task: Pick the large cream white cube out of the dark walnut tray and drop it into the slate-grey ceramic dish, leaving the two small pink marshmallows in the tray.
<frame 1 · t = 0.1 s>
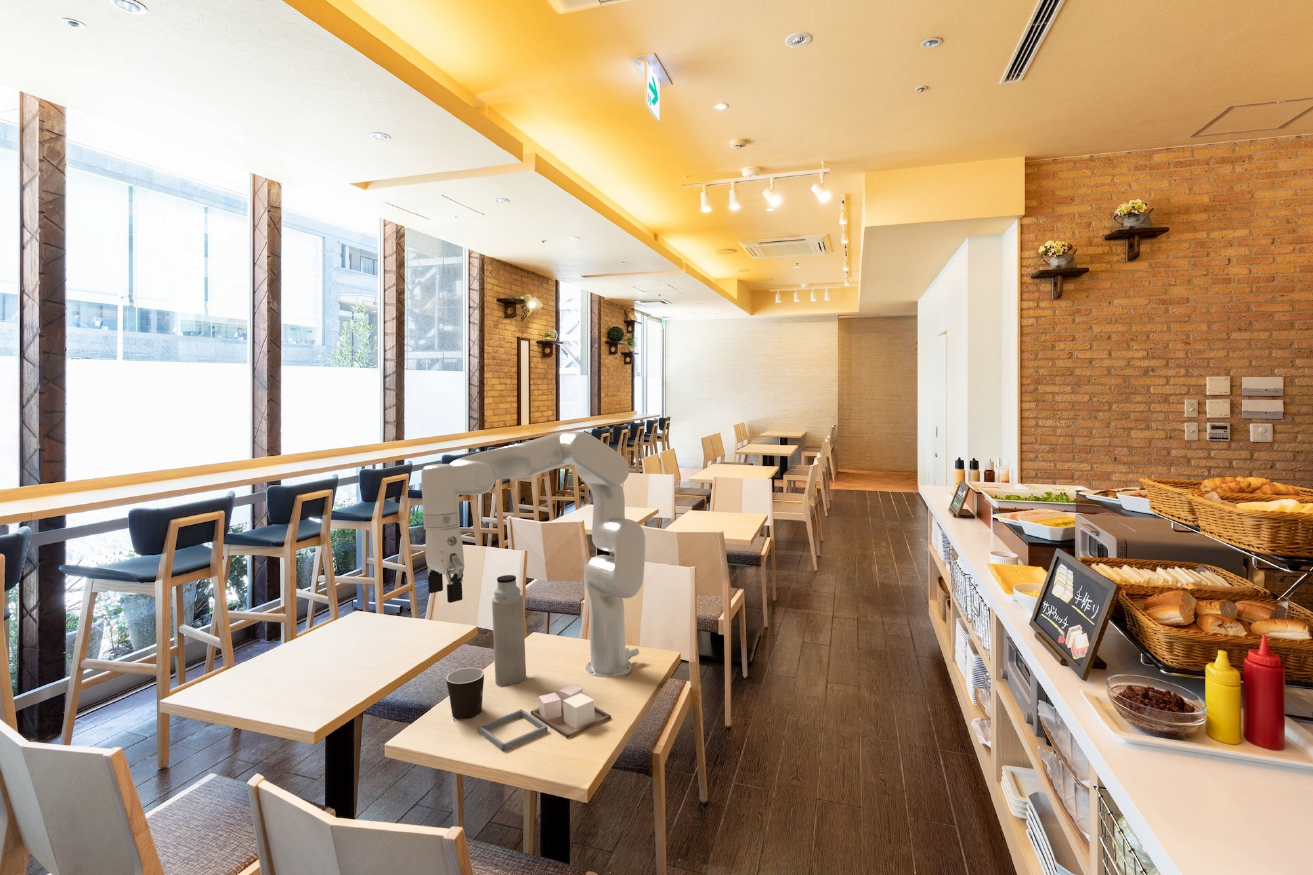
hand: (445, 596, 142), 31 cm above the table, fingers open, 9 cm apart
coffee mug: (470, 714, 152), on the table
cream white cube: (579, 721, 145), point 1 cm above the table, touching walnut tray
thermos bottle: (511, 680, 169), on the table
marshmallow small 1: (571, 705, 152), point 1 cm above the table, touching walnut tray
slate dish: (512, 735, 141), on the table
marshmallow small 2: (550, 714, 148), point 1 cm above the table, touching walnut tray
walnut tray: (570, 720, 147), on the table
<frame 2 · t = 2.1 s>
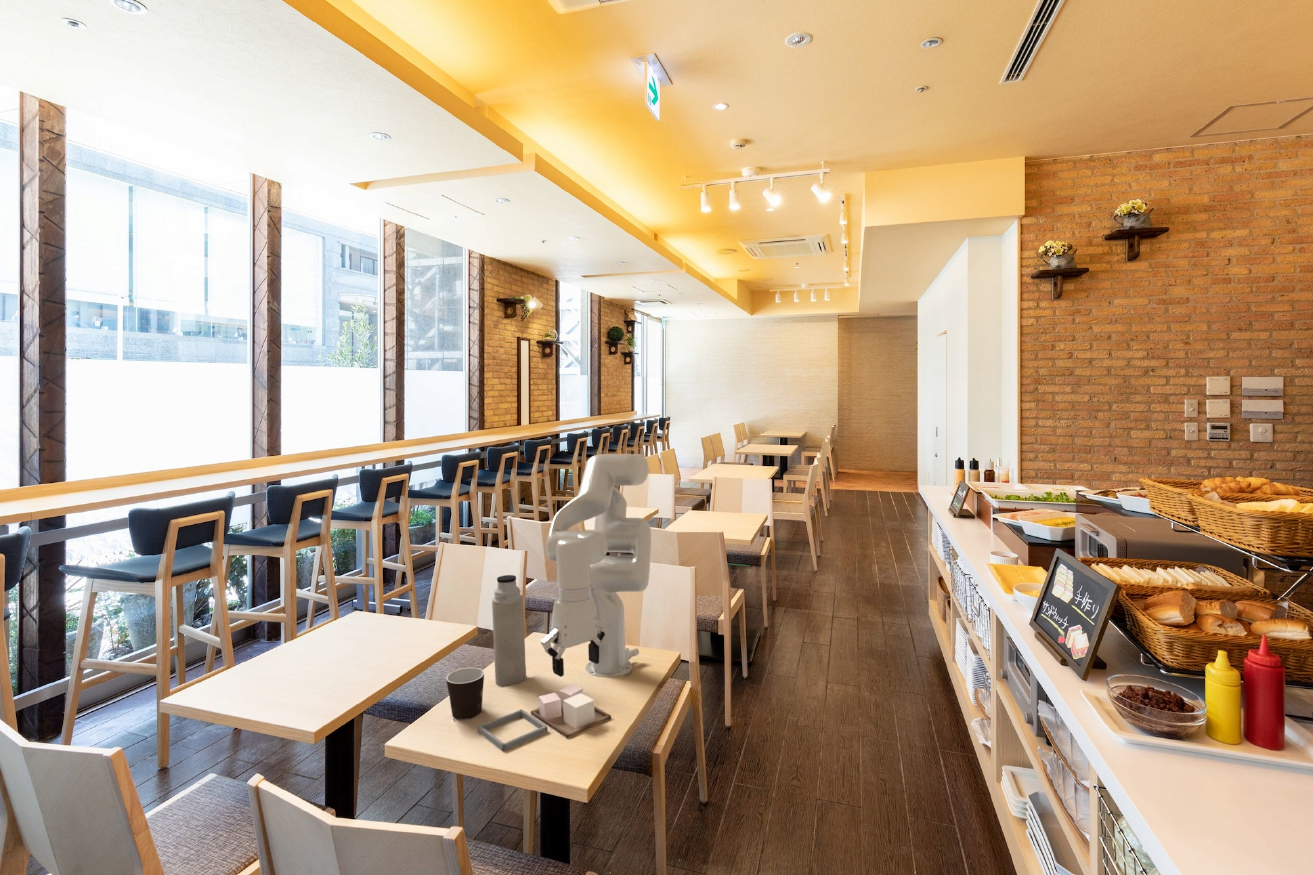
hand: (576, 668, 143), 14 cm above the table, fingers open, 9 cm apart
nothing on the table moved.
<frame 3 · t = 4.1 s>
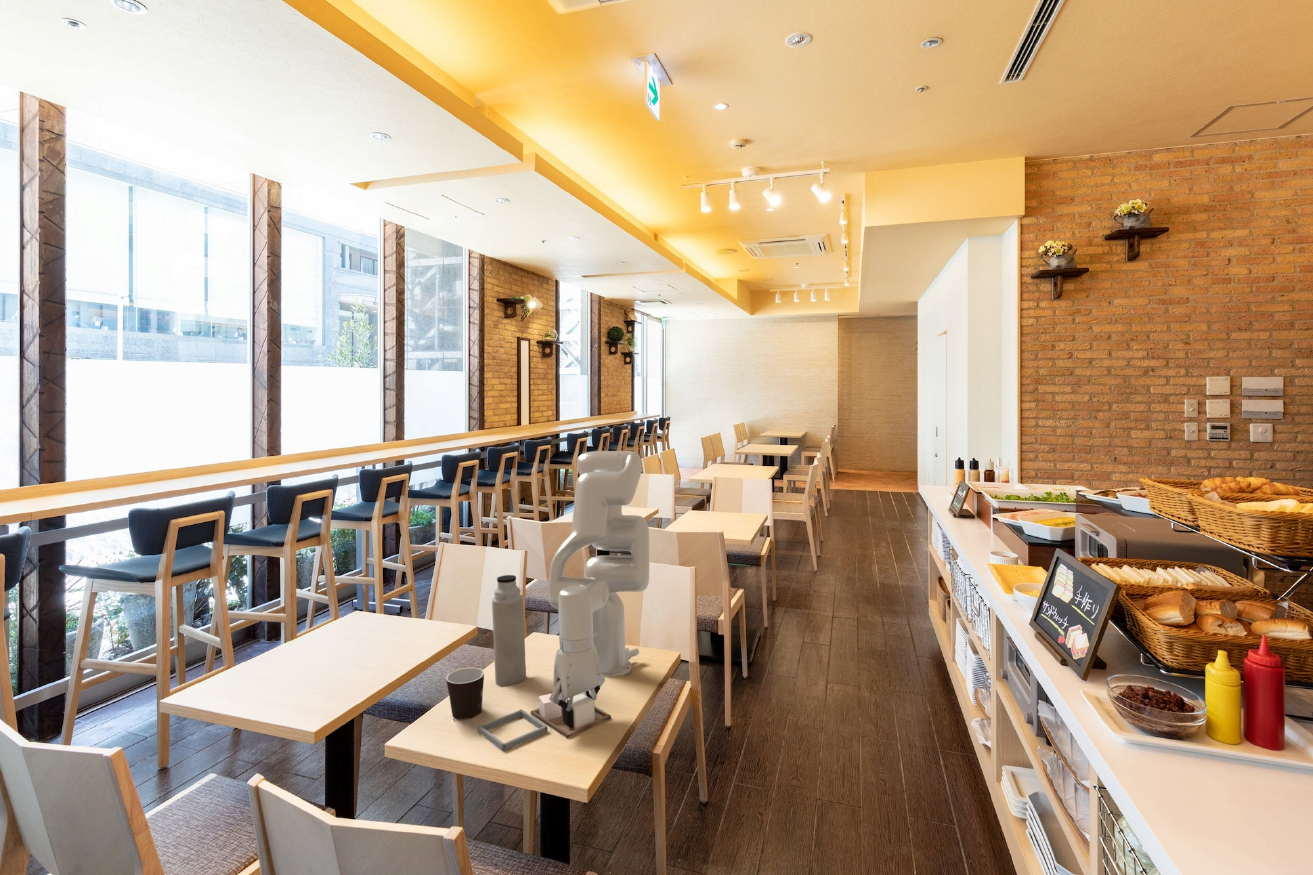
hand: (579, 719, 145), 1 cm above the table, fingers closed on cream white cube, 4 cm apart
cream white cube: (579, 721, 145), point 1 cm above the table, touching gripper, walnut tray
everything else where it was.
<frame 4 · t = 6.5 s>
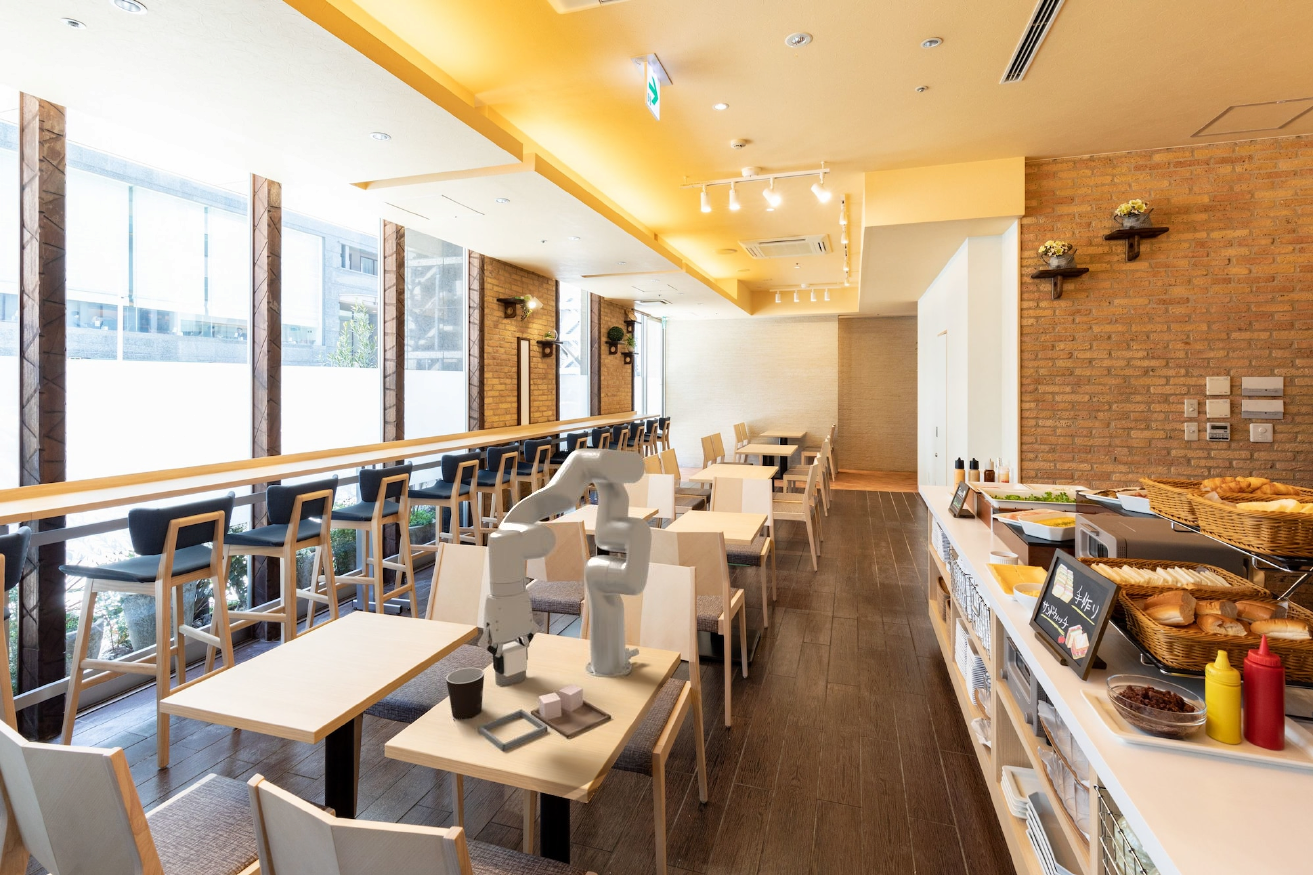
hand: (510, 667, 140), 16 cm above the table, fingers closed on cream white cube, 4 cm apart
cream white cube: (511, 669, 140), point 15 cm above the table, touching gripper
everything else where it was.
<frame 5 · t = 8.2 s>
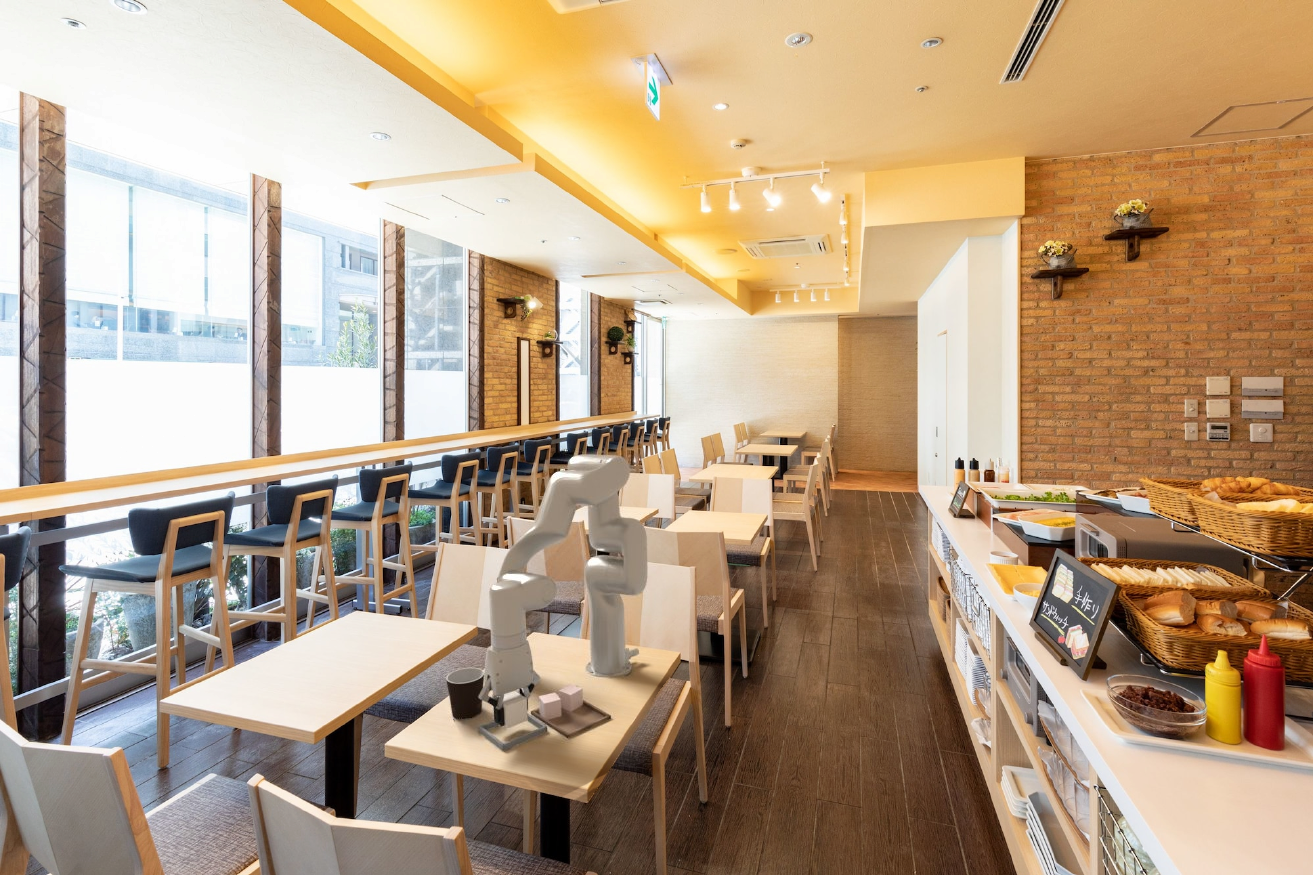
hand: (511, 718, 141), 4 cm above the table, fingers closed on cream white cube, 4 cm apart
cream white cube: (511, 720, 141), point 4 cm above the table, touching gripper
everything else where it was.
when the fingers open (3 cm above the table, at t = 9.2 s): cream white cube drops 2 cm, resting on slate dish.
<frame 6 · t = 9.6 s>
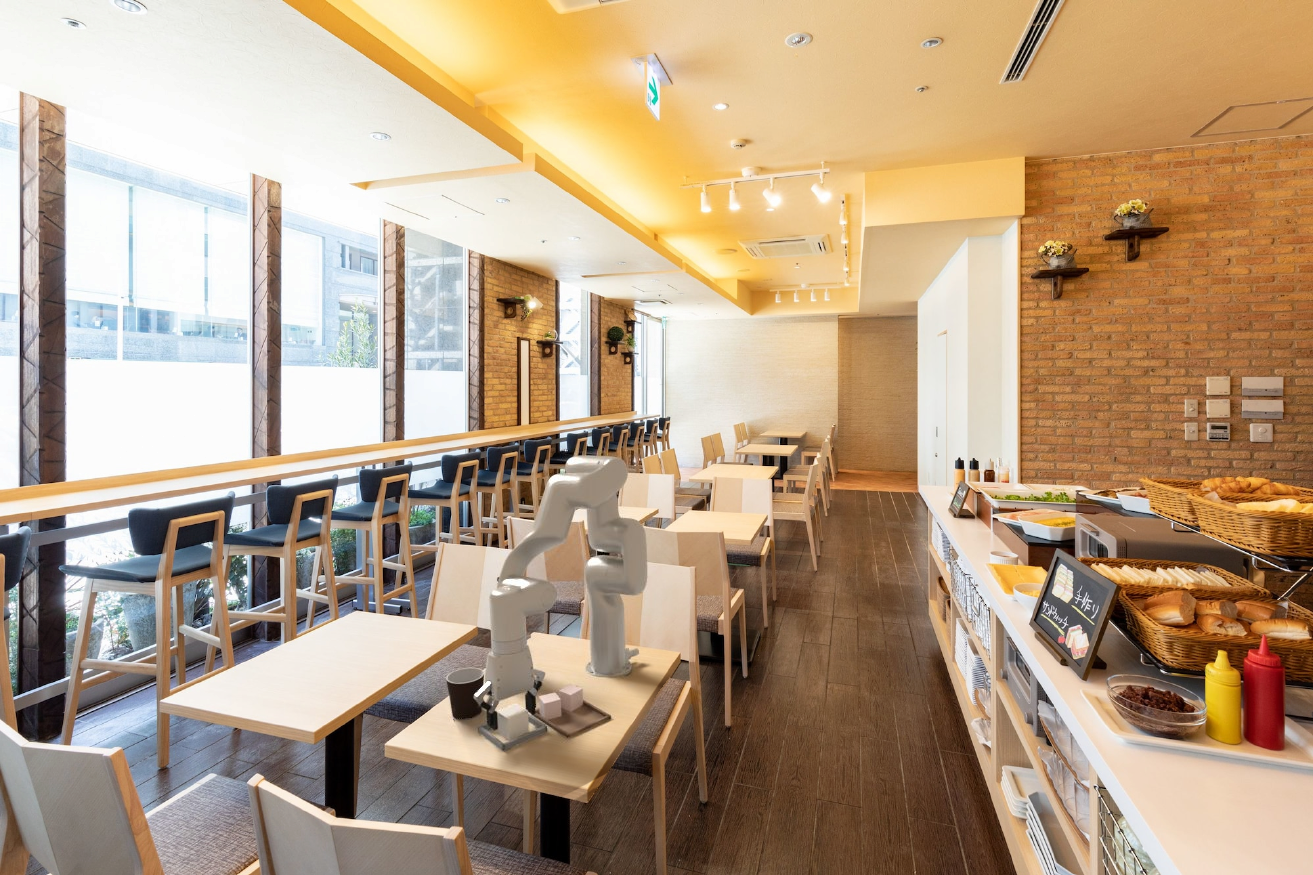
hand: (512, 719, 141), 4 cm above the table, fingers open, 9 cm apart
cream white cube: (513, 732, 141), point 1 cm above the table, touching slate dish
everything else where it was.
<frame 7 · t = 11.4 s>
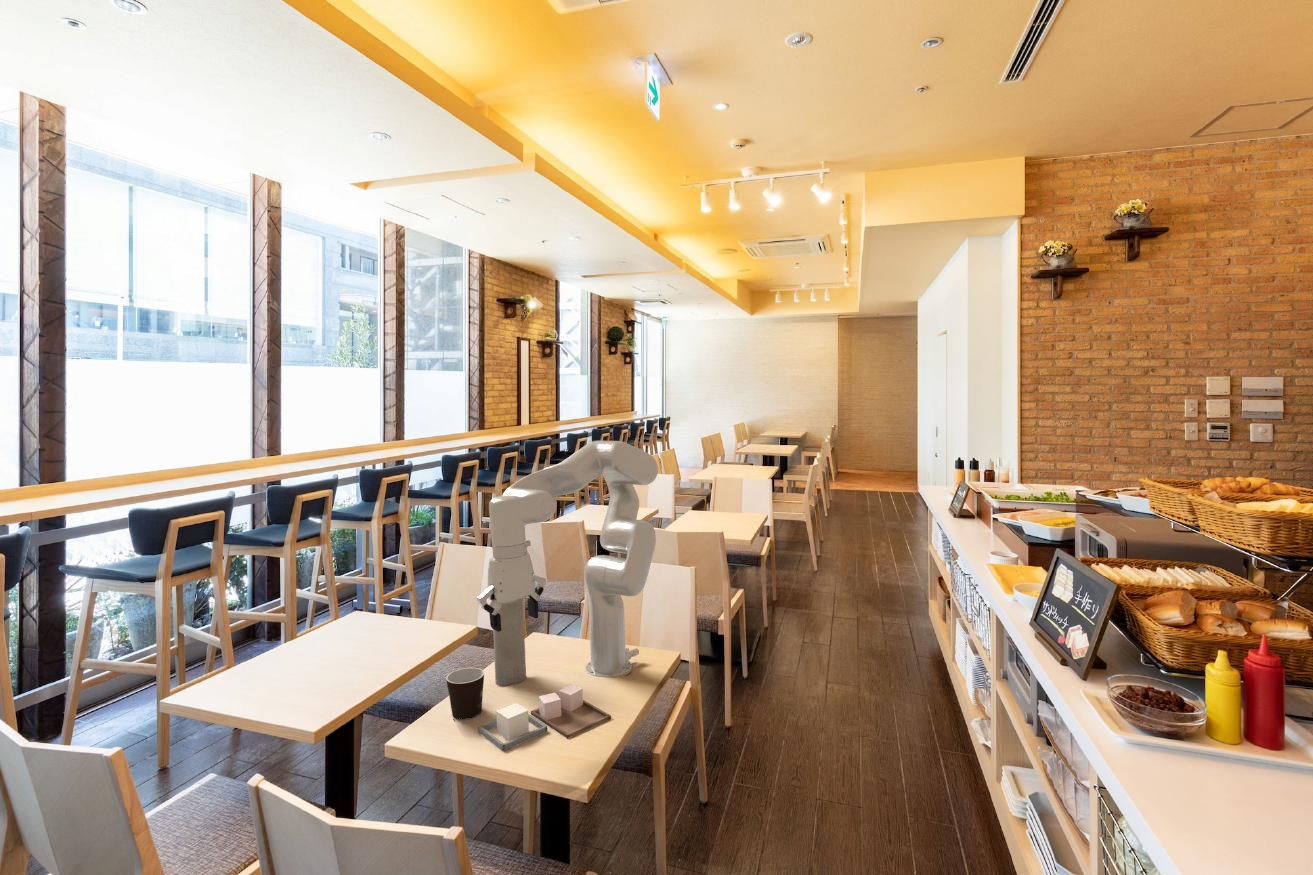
hand: (515, 623, 146), 23 cm above the table, fingers open, 9 cm apart
nothing on the table moved.
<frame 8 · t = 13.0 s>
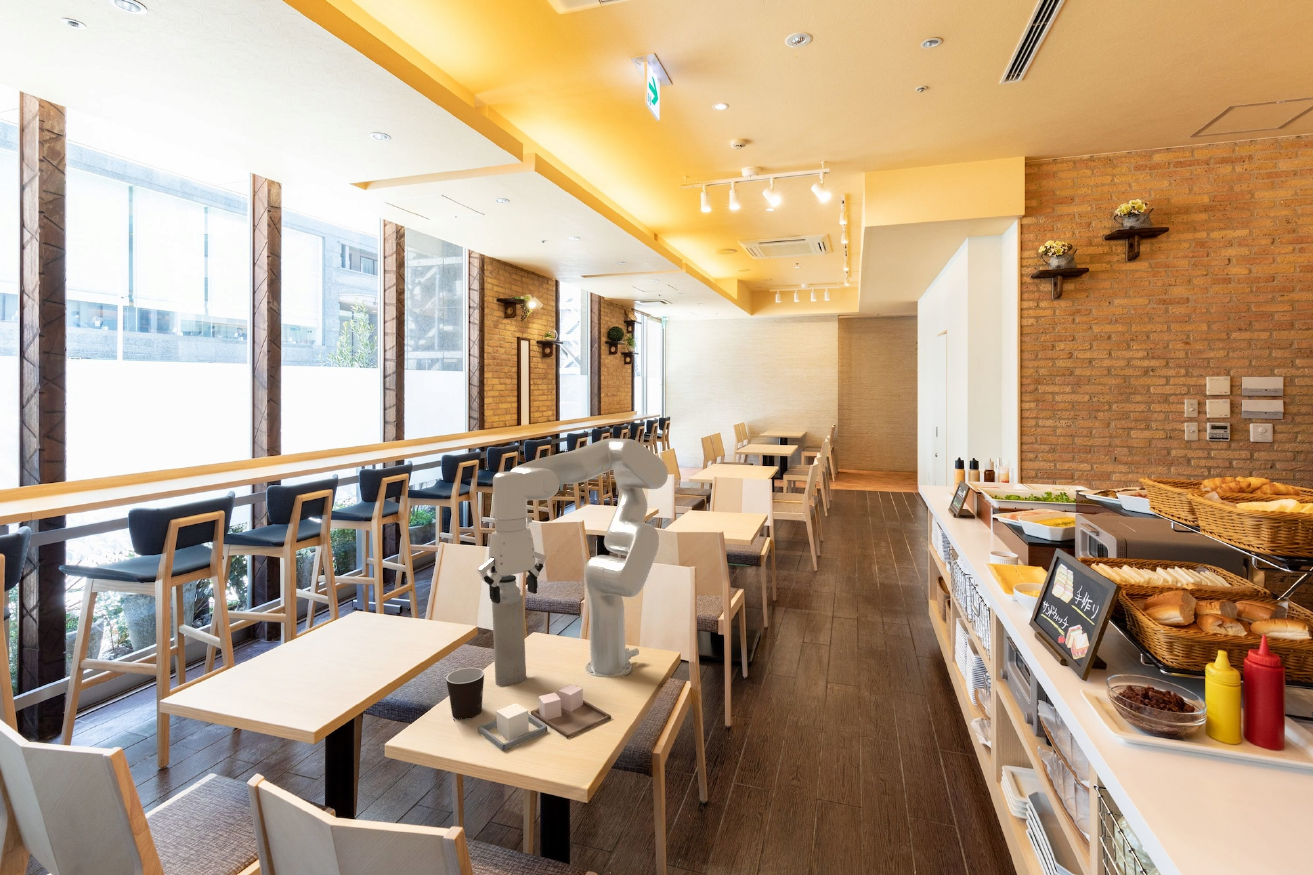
hand: (514, 597, 149), 28 cm above the table, fingers open, 9 cm apart
nothing on the table moved.
at the end: cream white cube inside the target area on the slate dish (0.0 cm from its centre), point 0.8 cm above the slate dish's base; the gripper is holding nothing; marshmallow small 1 moved 0.0 cm from its start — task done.
